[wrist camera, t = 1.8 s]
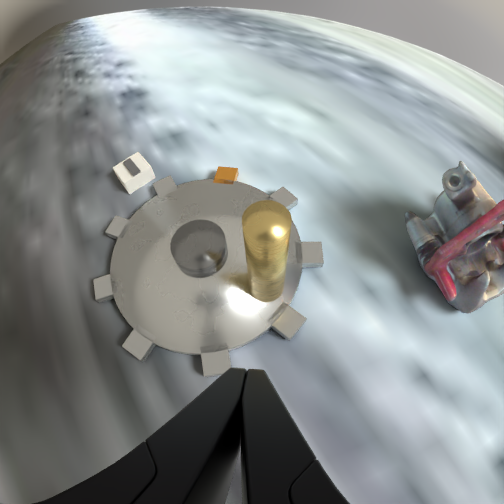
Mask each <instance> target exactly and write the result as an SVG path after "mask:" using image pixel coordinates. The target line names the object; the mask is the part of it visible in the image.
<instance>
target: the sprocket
mask: <svg viewBox="0 0 504 504" xmlns="http://www.w3.org/2000/svg"><path fill="white" fill-rule="evenodd" d="M237 177H238V168H230V167H218V169H217V172H216V175H215V178H214V179H204V180H196V181H191V182H187V183H183V184H180V185H177V186H176V184H175V183H174V181H173V179H172V177H171V176H168V177H166V178H163V179H161V180H159V181H157V182H155V183H153V186H154V188H155V190H156V192H157V195H156V196H155V197H153V198H152V199H151V200H149V201H148V202H146V203H145V204H144V205H143V206H142V207H141V208H140V209H138V210H137V211H136V212H135V214H134V215H133V216H132V217H131V218H130V219H129V220H128V219H125V218H122V217H119V216H115V217H114V219H113V221H112V222H111V224H110V225H109V227H108V228H107V230H106V232H105V233H106V234H107V235H108V237H111V238H114V239H117V242H116V244H115V247H114V250H113V254H112V258H111V266H110V274H108V275H105V276H102V277H100V278H97V279H94V280H93V281H94V290H95V298H96V300H97V301H98V302H99V303H101V302H104V301H108V300H111V299H115V302H116V304H117V306H118V308H119V310H120V312H121V313H122V315H123V316H124V318H125V319H126V321H127V322H128V323H129V324H130V325H131V326H132V327H133V328H134V329H133V331H132V332H131V334H130V335H129V337H128V338H127V340H126V341H125V342H124V344H123V345H122V347H124V348H125V349H126V350H127V351H129V352H130V353H131V354H133V355H134V356H135V357H137V358H138V359H139V360H141V361H142V362H145V360H146V359H147V357H148V356H149V354H150V353H151V352H152V350H153V349H154V347H155V346H156V345H158V346H159V347H162V348H164V349H167V350H170V351H173V352H177V353H181V354H186V355H201V358H202V366H203V373H204V376H205V377H212V376H219V375H222V374H223V373H225V372H226V371H227V370H228V369H229V368H231V361H230V355H229V351H231V350H234V349H237V348H240V347H243V346H245V345H246V344H248V343H250V342H252V341H254V340H256V339H257V338H259V337H260V336H262V335H263V334H264V333H266V332H267V331H268V330H269V329H270V328H273V329H274V330H275V331H276V332H278V333H279V334H280V335H282V336H283V337H284V338H286V339H287V340H288V341H290V340H291V339H292V338H293V336H294V335H295V334H296V333H297V332H298V330H299V329H300V328H301V327H302V325H303V324H304V323H305V322H306V318H305V317H304V316H302V315H301V314H300V313H298V312H297V311H296V310H294V309H293V308H292V307H290V306H289V305H290V304H291V302H292V300H293V298H294V296H295V293H296V291H297V289H298V285H299V281H300V277H301V273H302V268H308V267H322V266H323V263H324V262H323V253H322V244H321V242H301V241H300V237H299V234H298V231H297V229H296V226H295V225H294V223H293V221H292V218H291V214H290V212H289V210H290V209H291V208H293V207H294V206H296V205H297V202H298V199H297V198H296V197H295V196H294V195H293V194H291V193H290V192H289V191H288V190H287V189H285V188H284V187H282V188H280V189H279V190H277V191H276V192H274V193H273V194H271V195H270V196H269V195H268V194H266V193H264V192H263V191H261V190H259V189H257V188H255V187H252V186H250V185H247V184H244V183H241V182H237V181H236V180H237Z"/></svg>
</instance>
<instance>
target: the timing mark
mask: <svg viewBox="0 0 504 504" xmlns="http://www.w3.org/2000/svg"><path fill="white" fill-rule="evenodd" d="M113 169H114V171H115V173H116V175H117V177H118V179H119V181H120V182H121V183H122V185H123V186H124V188H125V189H126V190H127V192H128V193H129V194H131V193H133V192H134V191H136V190H137V189H139V188H140V187H142V186H144V185H145V184H147V183H148V182H150V181H151V180H153V179H155V175H154V172H153V170H152V167H151V166H150V165H149V163H148V162H147V161H146V160H145V159H144V158H143V157H142V156H141V154H140V153H139V152H137V153H135V154H134V155H132V156H131V157H129V158H127V159H126V160H124V161H123V162H121V163H119V164H118V165H116V166H115V167H113Z"/></svg>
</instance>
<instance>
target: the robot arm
mask: <svg viewBox="0 0 504 504" xmlns="http://www.w3.org/2000/svg"><path fill="white" fill-rule="evenodd" d="M240 446H241V483H242V504H350V503H349V502H348V501H347V500H346V499H345V497H344V496H343V495H342V494H341V493H340V491H339V490H338V489H337V488H336V486H335V485H334V483H333V482H332V481H331V479H330V478H329V476H328V475H327V473H326V472H325V470H324V469H323V467H322V466H321V464H320V462H319V461H318V460H316V456H315V455H314V453H313V451H312V450H311V448H310V447H309V445H308V443H307V442H306V440H305V438H304V437H303V435H302V433H301V432H300V430H299V428H298V427H297V425H296V423H295V422H294V420H293V418H292V417H291V415H290V413H289V412H288V410H287V408H286V407H285V405H284V403H283V402H282V400H281V398H280V396H279V395H278V393H277V391H276V390H275V388H274V386H273V384H272V383H271V381H270V379H269V377H268V376H267V374H266V372H265V371H264V370H259V369H249V370H248V371H247V370H246V369H244V368H229V369H228V370H227V371H226V372H225V373H223V374H222V375H221V376H220V377H219V378H218V379H217V380H216V381H215V382H213V383H212V384H211V385H210V386H209V387H208V388H207V389H205V390H204V391H203V392H202V393H201V394H200V395H199V396H197V397H196V398H195V399H194V400H193V401H192V402H191V403H189V404H188V405H187V406H186V407H185V408H184V409H182V410H181V411H180V412H179V413H178V414H176V415H175V416H174V417H173V418H172V419H171V420H169V421H168V422H167V423H166V424H165V425H163V426H162V427H161V428H160V429H158V430H157V431H156V432H155V433H154V434H152V435H151V436H150V437H149V438H147V439H146V442H142V443H141V444H140V445H138V446H137V447H136V448H135V449H133V450H132V451H131V452H129V453H128V454H127V455H125V456H124V457H122V458H121V459H120V460H118V461H117V462H115V463H114V464H112V465H111V466H109V467H107V468H106V469H104V470H102V471H101V472H99V473H97V474H96V475H94V476H92V477H90V478H88V479H86V480H85V481H83V482H81V483H79V484H77V485H75V486H73V487H71V488H69V489H68V490H66V491H64V492H62V493H60V494H58V495H56V496H54V497H51V498H49V499H47V500H44V501H41V502H38V503H33V504H225V502H226V498H227V495H228V491H229V488H230V485H231V481H232V478H233V474H234V471H235V467H236V463H237V460H238V456H239V452H240Z"/></svg>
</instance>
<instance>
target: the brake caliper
mask: <svg viewBox="0 0 504 504" xmlns="http://www.w3.org/2000/svg"><path fill="white" fill-rule="evenodd" d="M442 183H443V188H444V191H443V192H442V193H441V194H440V195H439V196H438V198H437V200H436V202H435V205H434V211H433V213H432V214H431V215H430V216H429V217H428V218H426V219H425V220H422V219H420V218H419V217H418V216H416V215H415V214H414V213H413V212H411V211H408V212H406V214H405V219H406V227H407V231H408V234H409V236H410V238H411V241H412V243H413V245H414V248H415V250H416V253H417V256H418V260H419V264H420V266H421V268H422V269H423V271H424V273H425V274H426V276H427V277H429V278H431V279H433V280H434V281H435V282H436V284H437V285H438V287H439V288H440V290H441V291H442V293H443V295H444V297H445V298H446V300H447V302H448V303H449V304H450V305H452V306H454V307H455V308H456V309H457V310H460V311H461V312H462V313H471V312H473V311H475V310H477V309H478V308H480V307H481V306H483V305H484V304H485V303H486V302H488V301H489V300H492V299H494V298H496V297H498V296H500V295H502V294H503V293H504V225H502V222H501V221H503V220H504V200H502V201H500V202H499V203H498V204H496V203H495V201H494V200H493V199H492V198H491V197H490V195H489V194H488V193H487V192H486V190H485V189H484V188H483V187H482V185H481V184H480V183H479V181H478V180H477V179H476V176H475V175H474V174H473V173H472V172H471V171H470V170H469V169H468V168H467V166H466V165H465V164H464V163H463V162H462V161H460V162H459V166H458V167H456V168H452V169H449V170H448V171H446V172H445V173H444V174H443V177H442Z"/></svg>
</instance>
